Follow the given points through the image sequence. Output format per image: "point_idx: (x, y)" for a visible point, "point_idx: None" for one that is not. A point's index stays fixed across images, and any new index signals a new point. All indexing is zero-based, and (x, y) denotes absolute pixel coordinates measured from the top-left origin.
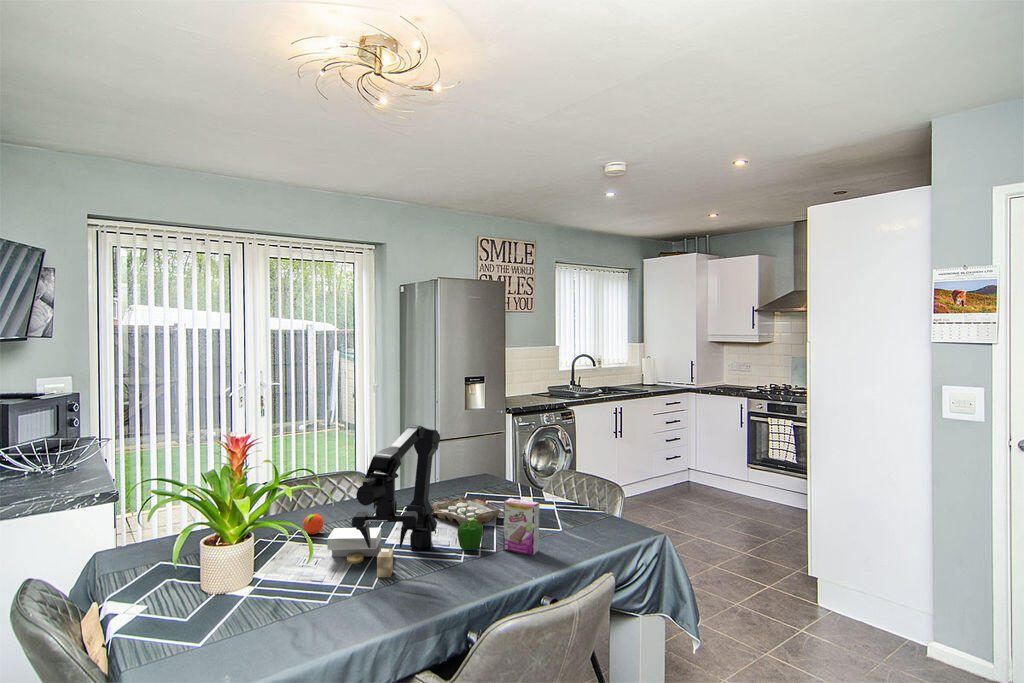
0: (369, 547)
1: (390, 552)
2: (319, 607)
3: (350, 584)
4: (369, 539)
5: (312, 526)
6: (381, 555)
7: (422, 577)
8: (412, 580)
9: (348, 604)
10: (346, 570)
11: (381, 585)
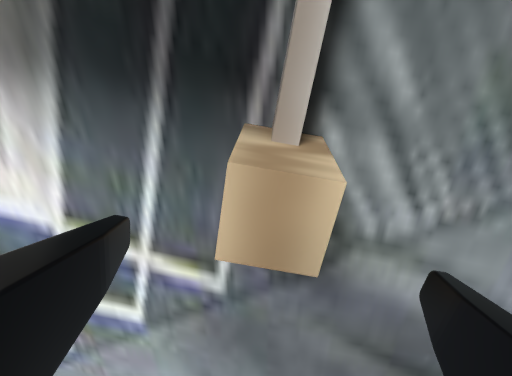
0: (121, 251)
1: (324, 198)
2: None
3: None
4: (73, 307)
5: None
6: (247, 237)
7: (463, 243)
8: (405, 261)
9: (145, 370)
10: (45, 63)
11: (257, 274)
